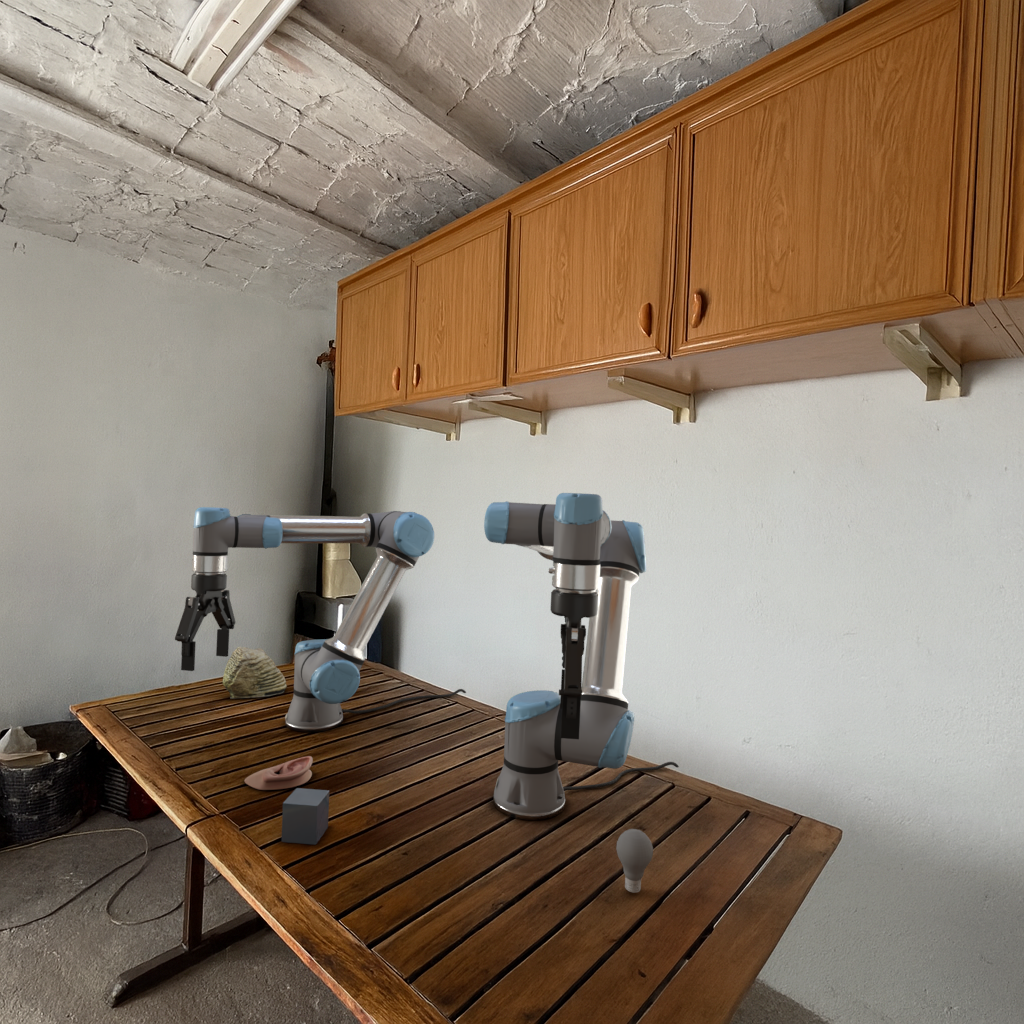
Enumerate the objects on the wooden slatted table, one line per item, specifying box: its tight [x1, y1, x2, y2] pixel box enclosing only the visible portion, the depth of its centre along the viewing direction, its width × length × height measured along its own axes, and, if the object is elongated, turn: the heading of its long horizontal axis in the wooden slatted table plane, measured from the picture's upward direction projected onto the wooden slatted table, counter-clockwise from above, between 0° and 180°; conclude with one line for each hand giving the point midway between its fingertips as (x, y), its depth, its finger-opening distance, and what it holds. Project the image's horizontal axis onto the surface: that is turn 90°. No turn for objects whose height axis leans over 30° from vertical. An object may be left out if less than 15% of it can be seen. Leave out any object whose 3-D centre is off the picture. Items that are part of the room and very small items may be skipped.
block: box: [281, 787, 330, 846], centre depth 119 cm, size 6×6×7 cm
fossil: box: [222, 646, 288, 699], centre depth 198 cm, size 9×18×15 cm, turn 132°
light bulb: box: [615, 828, 654, 894], centre depth 106 cm, size 6×6×10 cm
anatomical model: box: [244, 755, 314, 791], centre depth 141 cm, size 13×4×12 cm
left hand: (205, 662), depth 149 cm, fingers open, 13 cm apart
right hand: (568, 722), depth 101 cm, fingers open, 13 cm apart
